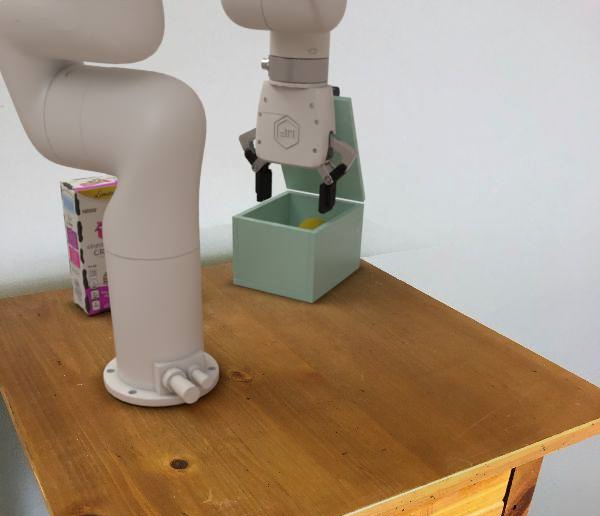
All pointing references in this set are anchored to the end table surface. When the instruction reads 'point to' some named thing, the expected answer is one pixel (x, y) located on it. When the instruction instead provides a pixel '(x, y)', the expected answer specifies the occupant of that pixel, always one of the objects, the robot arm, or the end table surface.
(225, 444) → the end table surface
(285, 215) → the green box
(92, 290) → the candy bar box
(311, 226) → the lemon
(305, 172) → the lid
